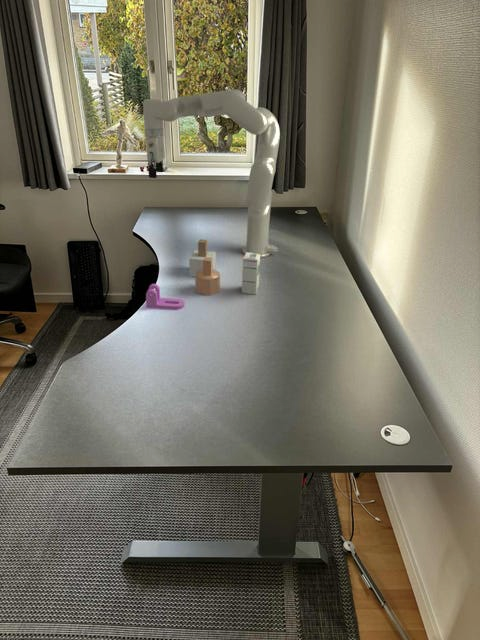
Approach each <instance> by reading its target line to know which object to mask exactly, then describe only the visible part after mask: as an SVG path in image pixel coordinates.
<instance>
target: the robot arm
mask: <svg viewBox="0 0 480 640" xmlns="http://www.w3.org/2000/svg"><path fill="white" fill-rule="evenodd" d="M142 106H143V108H142V109H143V123H144V137H145V138H146V158H147V167H148V169H147V170H148V178H149V179H157V177H158V175H157V173H164V159H165V146H164V145H165V143H164V137H165V136H164V122H170V123H171V122H174V121H177V120H178V119H180V118H185V117H192V116H199V117H204V118H210V117H219V116H227V117H229V119H231V120H232V121H233V122H234V123H235V124H237V125H239V127H241V128H242V129H244V130H245V131H246V132H248V133H249V134H251V135H254V136H255V135H256V136H258V141H257V149H256V154H255V159H254V162H253V164H252V166H251V168H250V170H249V177H248V183H247V190H246V194H245V195H246V196H245V202H246V204H247V207H248V208H247V223H246V224H247V225H246V241H245V242H246V245H245V246H244V247H242V254H243V255H245V254H246V252H247V253H258V254H260V259H261V258H266V257H268V256H270V255H271V252H275V253H277V252H278V247H277V246H276V245H274V244H273V245H271V244H270V242H269V231H270V218H271V208H272V207H271V206H272V199H273V198H272V197H273V191H272V187H273V183H274V177H275V173H276V169H277V159H278V152H279V147H280V138H281V130H280V126H279V123H278V119H277V118H276V116H275V115H274V114H273V113H272V112H271V111H270V110H269V109H267V108H266V107H261V106H260V107H255V106H253V104H251V103H249V102H248V101H247V100H246V96H245V94H244V92H242V91H241V90H240V89H228V90H227V89H226V90H221V91H213V92H208V93H200V94H197V95H189V96H188V95H187V96H181V97H174V98H171V99H169V100H166V101H165V100H164V101H162V100H159V99H155V98H148V99H145V100H143V103H142Z"/></svg>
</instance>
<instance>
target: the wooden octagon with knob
mask: <svg viewBox="0 0 480 640" xmlns="http://www.w3.org/2000/svg"><path fill="white" fill-rule="evenodd" d="M194 282H195V283H194V285H195V292H197V294H200V295H204V296H212V295H215V294H218V293H219V292H220V290H221V273H220V272H219V271H218V270H217V269H215V270H214V269H213V258H210V257H204V259H203V269H201V270H198V271H197V272H196V276H195V277H194Z"/></svg>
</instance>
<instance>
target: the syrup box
mask: <svg viewBox="0 0 480 640" xmlns="http://www.w3.org/2000/svg"><path fill="white" fill-rule="evenodd" d="M243 255H244V256H243V258H242V269H241V270H242V271H241V273H242V274H241V276H242V277H241V293H243V294H249V295H257V294H258V290H259V288H260V275H261V274H260V273H261V272H260V270H261V269H260V268H261V258H260V254H258V253H247V252H246V254H243Z"/></svg>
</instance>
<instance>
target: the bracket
mask: <svg viewBox="0 0 480 640" xmlns="http://www.w3.org/2000/svg"><path fill="white" fill-rule="evenodd" d="M160 291H161V289H160V285H159V284H156V283H151V284H150V285H149V286H148V289H147V291H146V293H145V302H146V308H147V309H160V310H161V309H163V310H182V309H183V308H184V307H185V300H183V299H181V298H180V299H179V298H169V297H161V292H160Z"/></svg>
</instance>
